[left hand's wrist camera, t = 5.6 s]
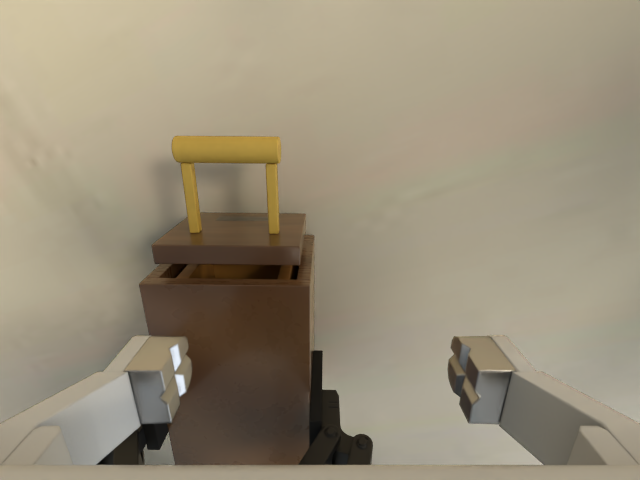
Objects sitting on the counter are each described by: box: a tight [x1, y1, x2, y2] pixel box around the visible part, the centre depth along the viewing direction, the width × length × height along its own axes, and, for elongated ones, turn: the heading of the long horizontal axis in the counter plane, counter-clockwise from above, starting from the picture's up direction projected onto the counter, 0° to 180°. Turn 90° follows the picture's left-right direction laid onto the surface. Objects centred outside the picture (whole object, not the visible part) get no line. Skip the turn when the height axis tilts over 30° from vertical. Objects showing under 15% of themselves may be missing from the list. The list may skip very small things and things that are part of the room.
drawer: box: [152, 136, 306, 280], centre depth 24 cm, size 19×8×7 cm, turn 0°
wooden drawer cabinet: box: [139, 235, 314, 465], centre depth 26 cm, size 14×10×8 cm, turn 0°
